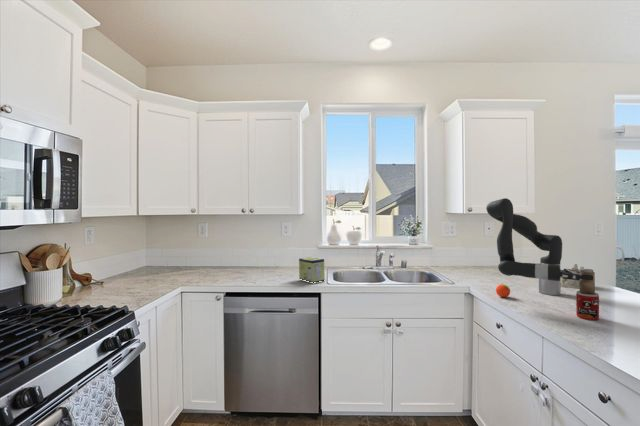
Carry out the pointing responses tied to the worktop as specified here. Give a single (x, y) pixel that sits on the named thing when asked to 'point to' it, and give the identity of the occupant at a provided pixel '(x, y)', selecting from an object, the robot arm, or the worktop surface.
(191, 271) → the worktop surface
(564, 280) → the beige irregular lump
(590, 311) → the canned food
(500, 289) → the clementine
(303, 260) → the protein box
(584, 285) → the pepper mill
